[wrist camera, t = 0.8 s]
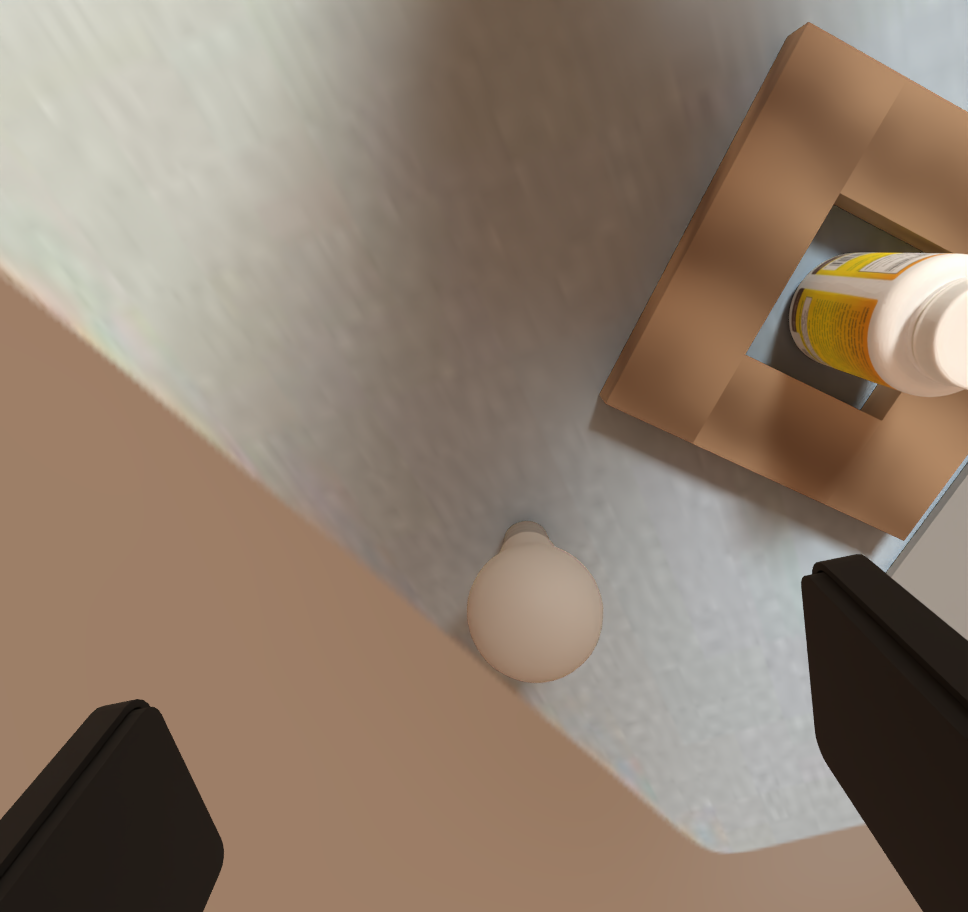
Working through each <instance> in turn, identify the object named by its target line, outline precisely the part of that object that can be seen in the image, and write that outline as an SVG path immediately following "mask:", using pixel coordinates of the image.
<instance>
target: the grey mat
mask: <svg viewBox="0 0 968 912" xmlns="http://www.w3.org/2000/svg"><path fill="white" fill-rule="evenodd" d="M886 574H887V575H889V576H890V577H891V578H892V579H893V580H895V581H896V582H897V583H898V584H900V585H901V586H902V587H903V588H904V589H906V590H907V591H908V592H909V593H910V594H912V595H913V596H914V597H915V598H917V599H918V600H919V601H920V602H921V603H923V604H924V605H925V606H926V607H927V608H929V609H930V610H931V611H932V612H934V613H935V614H936V615H937V616H938V617H940V618H941V619H942V620H943V621H945V622H946V623H947V624H948V625H949V626H951V627H952V628H953V629H954V630H955V631H957V632H958V633H959V634H960V635H962V636H963V637H964V638H965V639H966V640H968V463H967V464H966V466H965V467H964V468H963V470H962V471H961V472H960V474H959V475H958V477H957V478H956V479H955V481H954V482H953V483H952V485H951V486H950V487H949V489H948V490H947V491H946V493H945V494H944V495H943V497H942V498H941V499H940V501H939V502H938V504H937V505H936V506H935V508H934V509H933V510H932V512H931V513H930V514H929V516H928V517H927V518H926V520H925V521H924V522H923V524H922V525H921V526H920V528H919V529H918V531H917V532H916V533H915V535H914V536H913V537H912V539H911V540H910V541H909V543H908V544H907V545H906V547H905V548H904V549H903V551H902V552H901V553H900V555H899V556H898V558H897V559H896V560H895V562H894V563H893V564H892V566H891V567H890V568H889V570H888V571H887V572H886Z"/></svg>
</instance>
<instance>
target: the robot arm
mask: <svg viewBox="0 0 968 912" xmlns="http://www.w3.org/2000/svg"><path fill="white" fill-rule="evenodd" d="M801 589H802V599H803V610H804V620H805V631H806V641H807V652H808V662H809V673H810V684H811V694H812V705H813V715H814V726H815V734H816V739H817V743H818V746H819V749H820V751H821V754H822V756H823V758H824V760H825V762H826V763H827V765H828V767H829V768H830V770H831V771H832V773H833V774H834V776H835V777H836V779H837V780H838V782H839V784H840V785H841V787H842V788H843V790H844V791H845V793H846V794H847V796H848V797H849V799H850V800H851V802H852V803H853V805H854V807H855V808H856V810H857V811H858V813H859V814H860V816H861V817H862V819H863V820H864V822H865V823H866V825H867V826H868V828H869V830H870V831H871V833H872V834H873V835H874V837H875V839H876V840H877V842H878V843H879V845H880V846H881V848H882V849H883V851H884V853H885V854H886V855H887V857H888V859H889V860H890V862H891V863H892V865H893V866H894V868H895V869H896V871H897V872H898V874H899V876H900V877H901V878H902V880H903V882H904V883H905V885H906V886H907V888H908V889H909V891H910V892H911V894H912V895H913V897H914V899H915V900H916V902H917V903H918V905H919V906H920V908H921V909H922V911H923V912H968V640H966V639H965V638H964V637H963V636H962V635H960V634H959V633H958V632H957V631H955V630H954V629H953V628H952V627H951V626H949V625H948V624H947V623H946V622H945V621H943V620H942V619H941V618H940V617H938V616H937V615H936V614H935V613H934V612H932V611H931V610H930V609H929V608H927V607H926V606H925V605H924V604H923V603H921V602H920V601H919V600H918V599H917V598H915V597H914V596H913V595H912V594H910V593H909V592H908V591H907V590H906V589H904V588H903V587H902V586H901V585H900V584H898V583H897V582H896V581H895V580H893V579H892V578H891V577H890V576H889V575H887V574H886V573H885V572H884V571H883V570H881V569H880V568H879V567H878V566H876V565H875V564H874V563H873V562H872V561H870V560H869V559H868V558H867V557H865V556H863V555H862V554H856V555H851V556H846V557H841V558H836V559H831V560H826V561H821V562H816V563H815V564H814V566H813V570H812V575H807V576H804V577H803V578H802V581H801ZM223 858H224V849H223V843H222V840H221V837H220V836H219V833H218V831H217V829H216V827H215V825H214V823H213V821H212V819H211V817H210V814H209V812H208V810H207V808H206V806H205V804H204V802H203V800H202V798H201V796H200V794H199V792H198V789H197V787H196V785H195V783H194V781H193V779H192V777H191V775H190V773H189V771H188V769H187V766H186V764H185V762H184V760H183V758H182V756H181V754H180V752H179V750H178V748H177V746H176V744H175V741H174V739H173V737H172V735H171V733H170V731H169V729H168V727H167V725H166V723H165V721H164V718H163V716H162V714H161V713H160V712H159V710H158V709H156V708H155V707H150V706H149V704H148V703H146V702H145V701H144V700H139V699H136V700H131V701H126V702H121V703H116V704H111V705H106V706H102V707H99V708H97V709H96V710H95V711H94V712H92V713H91V714H90V716H89V717H88V718H87V719H86V720H85V721H84V723H83V724H82V725H81V726H80V727H79V729H78V730H77V731H76V732H75V733H74V734H73V736H72V737H71V738H70V739H69V740H68V741H67V743H66V744H65V745H64V746H63V747H62V748H61V750H60V751H59V752H58V753H57V754H56V756H55V757H54V758H53V759H52V760H51V761H50V763H49V764H48V765H47V766H46V767H45V768H44V769H43V771H42V772H41V773H40V774H39V775H38V776H37V778H36V779H35V780H34V781H33V783H32V784H31V785H30V786H29V787H28V788H27V789H26V791H25V792H24V793H23V794H22V796H20V798H19V799H18V800H17V801H16V802H15V803H14V805H13V806H12V807H11V808H10V809H9V810H8V812H7V813H6V814H5V815H4V816H3V817H2V819H1V820H0V912H203V910H204V908H205V906H206V904H207V901H208V899H209V897H210V894H211V892H212V890H213V887H214V885H215V882H216V880H217V878H218V876H219V873H220V871H221V868H222V865H223Z"/></svg>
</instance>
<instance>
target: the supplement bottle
mask: <svg viewBox="0 0 968 912" xmlns="http://www.w3.org/2000/svg"><path fill="white" fill-rule="evenodd" d="M789 326H790V331H791V334H792V337H793V339H794V341H795V343H796V345H797V346H798V347H799V349H800V350H801V351H802V352H803V353H804V354H805V355H806V356H808V357H809V358H811V359H812V360H814V361H816V362H818V363H821V364H823V365H826V366H829V367H832V368H835V369H838V370H840V371H843V372H846V373H849V374H852V375H855V376H857V377H860V378H863V379H866V380H869V381H872V382H874V383H877V384H880V385H883V386H886V387H889V388H892V389H895V390H898V391H901V392H904V393H907V394H911V395H915V396H921V397H939V396H945V395H950V394H953V393H956V392H959V391H962V390H964V389H965V390H968V254H958V253H874V252H868V253H867V252H859V253H846V254H841V255H838V256H835V257H832V258H830V259H828V260H826V261H824V262H823V263H821V264H819V265H818V266H817V267H815V268H814V269H813V270H812V271H811V272H810V273H809V274H808V275H807V276H806V277H805V278H804V279H803V281H802V282H801V283H800V285H799V286H798V288H797V290H796V292H795V294H794V296H793V299H792V302H791V306H790V312H789Z"/></svg>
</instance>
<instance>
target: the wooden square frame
mask: <svg viewBox="0 0 968 912" xmlns="http://www.w3.org/2000/svg"><path fill="white" fill-rule="evenodd" d="M833 204H834V205H836V206H838V207H840V208H842V209H843V210H845V211H847V212H849V213H851V214H853V215H855V216H857V217H859V218H860V219H862V220H864V221H866V222H868V223H870V224H872V225H874V226H876V227H877V228H879V229H881V230H883V231H885V232H887V233H889V234H891V235H893V236H894V237H896V238H898V239H900V240H902V241H904V242H906V243H908V244H910V245H911V246H913V247H915V248H917V249H919V250H921V251H923V252H925V253H958V254H968V112H967V111H965V110H963V109H961V108H960V107H958V106H956V105H954V104H953V103H951V102H949V101H947V100H945V99H944V98H942V97H940V96H938V95H937V94H935V93H933V92H931V91H930V90H928V89H926V88H924V87H923V86H921V85H919V84H917V83H916V82H914V81H912V80H910V79H908V78H907V77H905V76H903V75H901V74H900V73H898V72H896V71H894V70H893V69H891V68H889V67H887V66H886V65H884V64H882V63H880V62H879V61H877V60H875V59H873V58H871V57H870V56H868V55H866V54H864V53H863V52H861V51H859V50H857V49H856V48H854V47H852V46H850V45H849V44H847V43H845V42H843V41H842V40H840V39H838V38H836V37H834V36H833V35H831V34H829V33H827V32H826V31H824V30H822V29H820V28H819V27H817V26H815V25H813V24H812V23H810V22H808V23H806V24H805V25H803V26H802V27H801V28H799V29H798V30H796V31H795V32H793V33H792V34H791V35H789V36H788V37H787V38H786V40H785V42H784V44H783V46H782V48H781V50H780V52H779V54H778V56H777V57H776V59H775V61H774V63H773V65H772V67H771V69H770V71H769V73H768V75H767V76H766V78H765V80H764V82H763V84H762V86H761V88H760V90H759V92H758V94H757V96H756V97H755V99H754V101H753V103H752V105H751V107H750V109H749V111H748V113H747V115H746V116H745V118H744V120H743V122H742V124H741V126H740V128H739V130H738V132H737V134H736V135H735V137H734V139H733V141H732V143H731V145H730V147H729V149H728V151H727V153H726V154H725V156H724V158H723V160H722V162H721V164H720V166H719V168H718V170H717V172H716V173H715V175H714V177H713V179H712V181H711V183H710V185H709V187H708V189H707V191H706V193H705V194H704V196H703V198H702V200H701V202H700V204H699V206H698V208H697V210H696V212H695V213H694V215H693V217H692V219H691V221H690V223H689V225H688V227H687V229H686V231H685V232H684V234H683V236H682V238H681V240H680V242H679V244H678V246H677V248H676V250H675V251H674V253H673V255H672V257H671V259H670V261H669V263H668V265H667V267H666V269H665V270H664V272H663V274H662V276H661V278H660V280H659V282H658V284H657V286H656V288H655V290H654V291H653V293H652V295H651V297H650V299H649V301H648V303H647V305H646V307H645V309H644V310H643V312H642V314H641V316H640V318H639V320H638V322H637V324H636V326H635V328H634V329H633V331H632V333H631V335H630V337H629V339H628V341H627V343H626V345H625V347H624V348H623V350H622V352H621V354H620V356H619V358H618V360H617V362H616V364H615V366H614V367H613V369H612V371H611V373H610V375H609V377H608V379H607V381H606V383H605V385H604V387H603V388H602V390H601V392H600V394H599V395H600V397H601V398H602V399H603V401H604V402H605V404H607V405H609V406H612V407H614V408H616V409H618V410H620V411H622V412H625V413H627V414H629V415H631V416H633V417H635V418H638V419H640V420H642V421H644V422H646V423H649V424H651V425H653V426H655V427H657V428H659V429H662V430H664V431H666V432H668V433H670V434H673V435H675V436H677V437H679V438H681V439H683V440H686V441H688V442H690V443H692V444H694V445H696V446H699V447H701V448H703V449H705V450H707V451H710V452H712V453H714V454H716V455H718V456H720V457H723V458H725V459H727V460H729V461H731V462H734V463H736V464H738V465H740V466H742V467H744V468H747V469H749V470H751V471H753V472H755V473H757V474H760V475H762V476H764V477H766V478H768V479H771V480H773V481H775V482H777V483H779V484H781V485H784V486H786V487H788V488H790V489H792V490H794V491H797V492H799V493H801V494H803V495H805V496H808V497H810V498H812V499H814V500H816V501H818V502H821V503H823V504H825V505H827V506H829V507H832V508H834V509H836V510H838V511H840V512H842V513H845V514H847V515H849V516H851V517H853V518H855V519H858V520H860V521H862V522H864V523H866V524H869V525H871V526H873V527H875V528H877V529H879V530H882V531H884V532H886V533H888V534H890V535H893V536H895V537H897V538H899V539H901V540H903V541H904V540H905V539H906V537H907V536H908V535H909V533H910V532H911V531H912V529H913V528H914V527H915V525H916V524H917V523H918V521H919V520H920V518H921V517H922V516H923V514H924V513H925V512H926V510H927V509H928V508H929V506H930V505H931V504H932V502H933V501H934V500H935V498H936V497H937V495H938V494H939V493H940V491H941V490H942V489H943V487H944V486H945V485H946V483H947V482H948V481H949V479H950V478H951V476H952V475H953V474H954V472H955V471H956V470H957V468H958V467H959V466H960V464H961V463H962V462H963V460H964V459H965V457H966V456H967V455H968V390H965V389H964V390H962V391H959V392H956V393H953V394H950V395H945V396H939V397H921V396H915V395H911V394H907V393H904V392H901V391H898V390H895V389H892V388H889V387H886V386H883V385H880V384H878V385H877V386H876V388H875V389H874V391H873V392H872V394H871V395H870V397H869V398H868V400H867V401H866V403H865V404H864V406H863V407H862V409H861V410H858V409H856V408H854V407H852V406H850V405H848V404H846V403H844V402H842V401H840V400H838V399H836V398H834V397H832V396H830V395H827V394H825V393H823V392H821V391H819V390H817V389H815V388H813V387H811V386H809V385H807V384H805V383H803V382H801V381H799V380H797V379H794V378H792V377H790V376H788V375H786V374H784V373H782V372H780V371H778V370H776V369H774V368H772V367H770V366H768V365H766V364H764V363H761V362H759V361H757V360H755V359H753V358H751V357H749V356H747V355H745V354H746V352H747V350H748V349H749V347H750V345H751V344H752V342H753V340H754V339H755V337H756V335H757V333H758V332H759V330H760V328H761V327H762V325H763V323H764V322H765V320H766V318H767V316H768V315H769V313H770V311H771V310H772V308H773V306H774V305H775V303H776V301H777V300H778V298H779V296H780V294H781V293H782V291H783V289H784V288H785V286H786V284H787V283H788V281H789V279H790V277H791V276H792V274H793V272H794V271H795V269H796V267H797V266H798V264H799V262H800V260H801V259H802V257H803V255H804V254H805V252H806V250H807V249H808V247H809V245H810V243H811V242H812V240H813V238H814V237H815V235H816V233H817V232H818V230H819V228H820V226H821V225H822V223H823V221H824V220H825V218H826V216H827V215H828V213H829V211H830V209H831V208H832V206H833Z"/></svg>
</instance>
